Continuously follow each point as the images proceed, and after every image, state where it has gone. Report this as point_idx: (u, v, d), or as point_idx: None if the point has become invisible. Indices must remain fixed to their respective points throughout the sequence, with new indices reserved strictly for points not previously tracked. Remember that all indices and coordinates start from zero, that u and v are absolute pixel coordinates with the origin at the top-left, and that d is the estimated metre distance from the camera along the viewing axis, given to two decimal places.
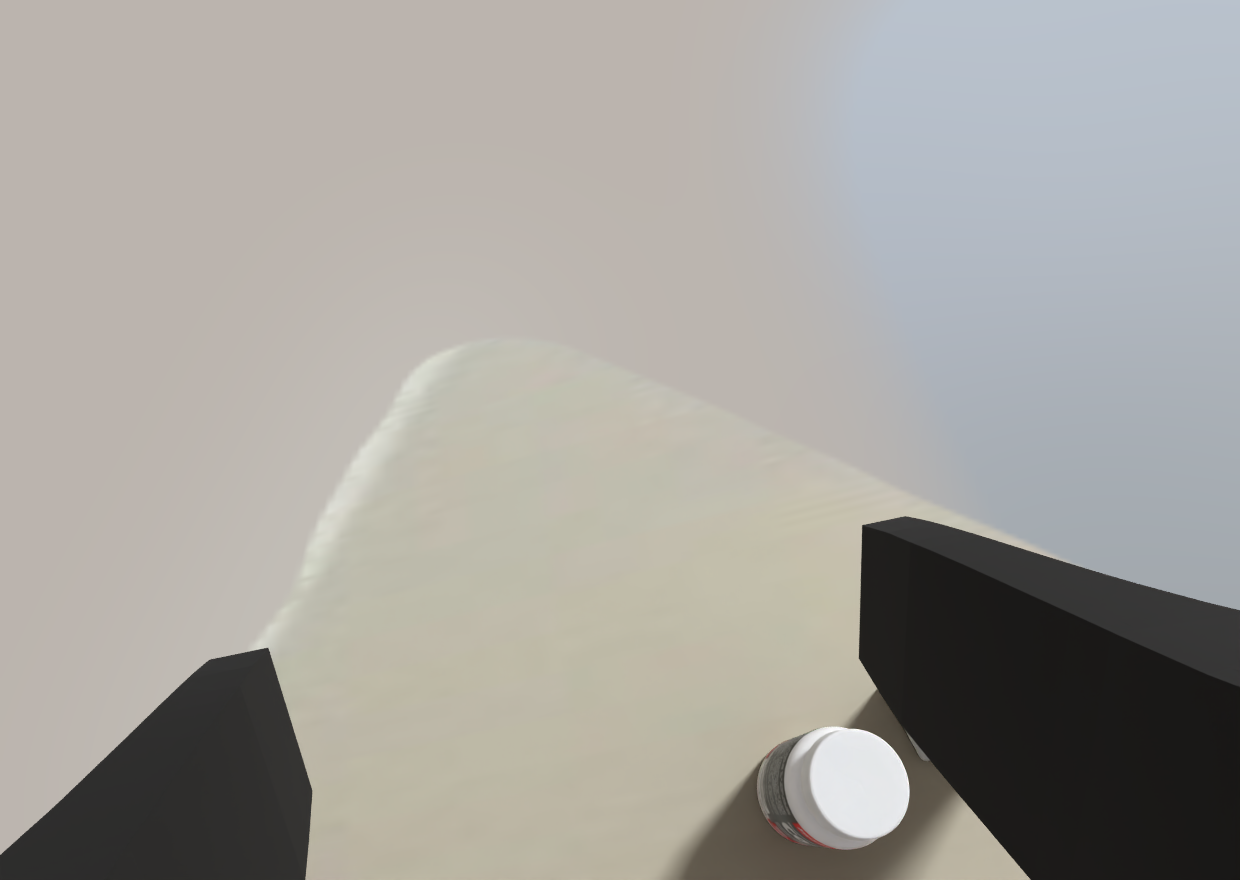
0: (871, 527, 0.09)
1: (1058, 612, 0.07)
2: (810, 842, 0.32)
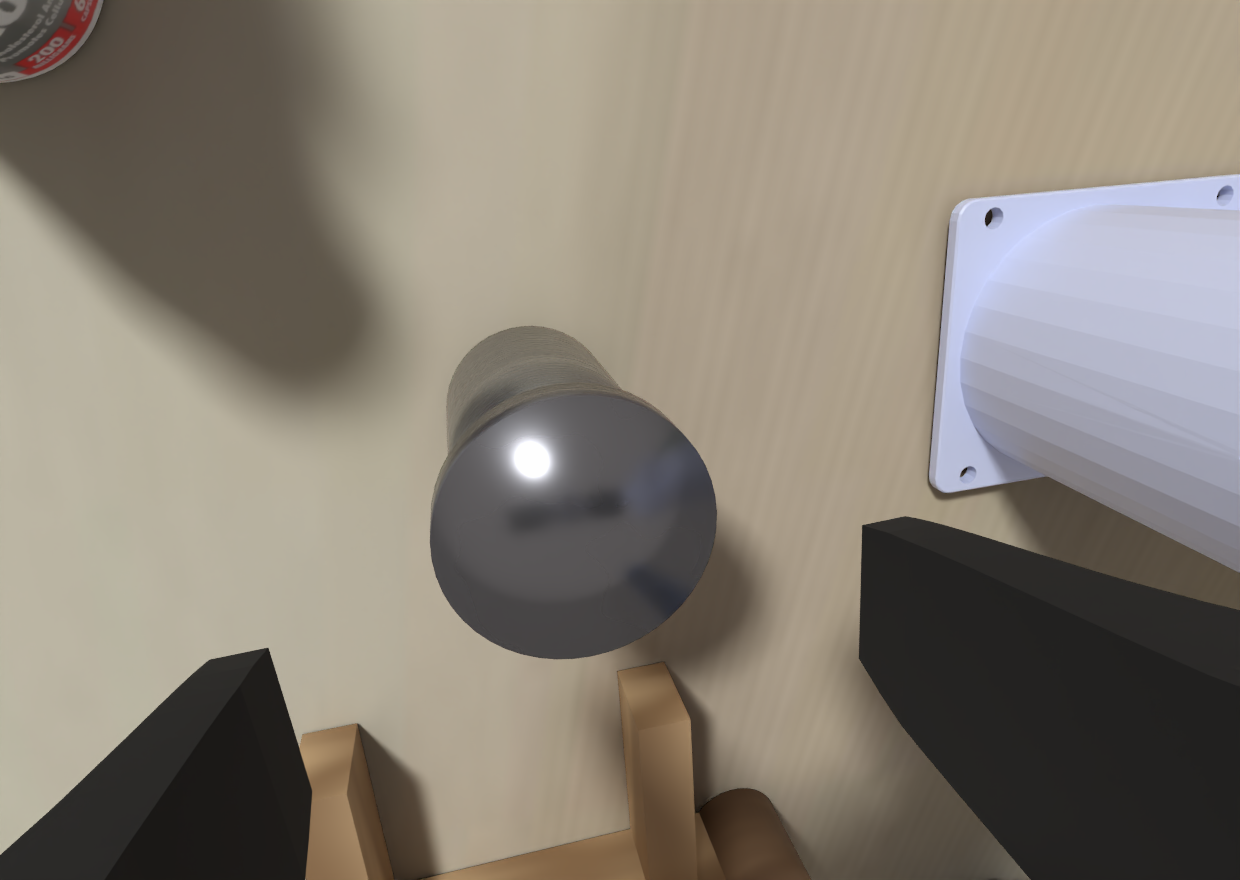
0: (871, 527, 0.09)
1: (1058, 612, 0.07)
2: None
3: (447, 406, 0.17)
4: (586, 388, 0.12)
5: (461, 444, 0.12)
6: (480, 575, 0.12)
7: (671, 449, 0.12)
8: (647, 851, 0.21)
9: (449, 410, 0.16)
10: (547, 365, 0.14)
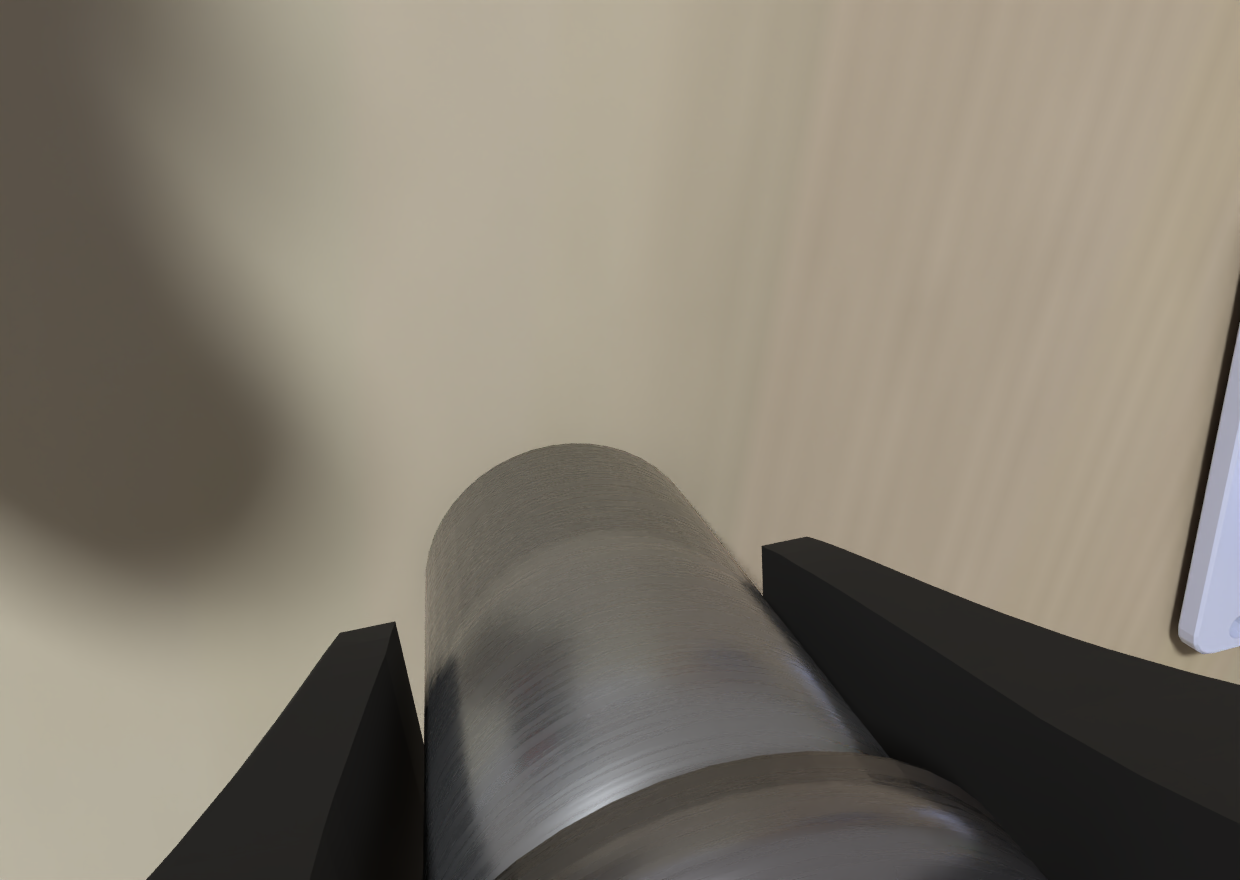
0: (769, 548, 0.09)
1: (921, 646, 0.06)
2: None
3: (426, 600, 0.10)
4: (802, 799, 0.04)
5: None
6: None
7: None
8: None
9: (428, 627, 0.09)
10: (632, 591, 0.07)
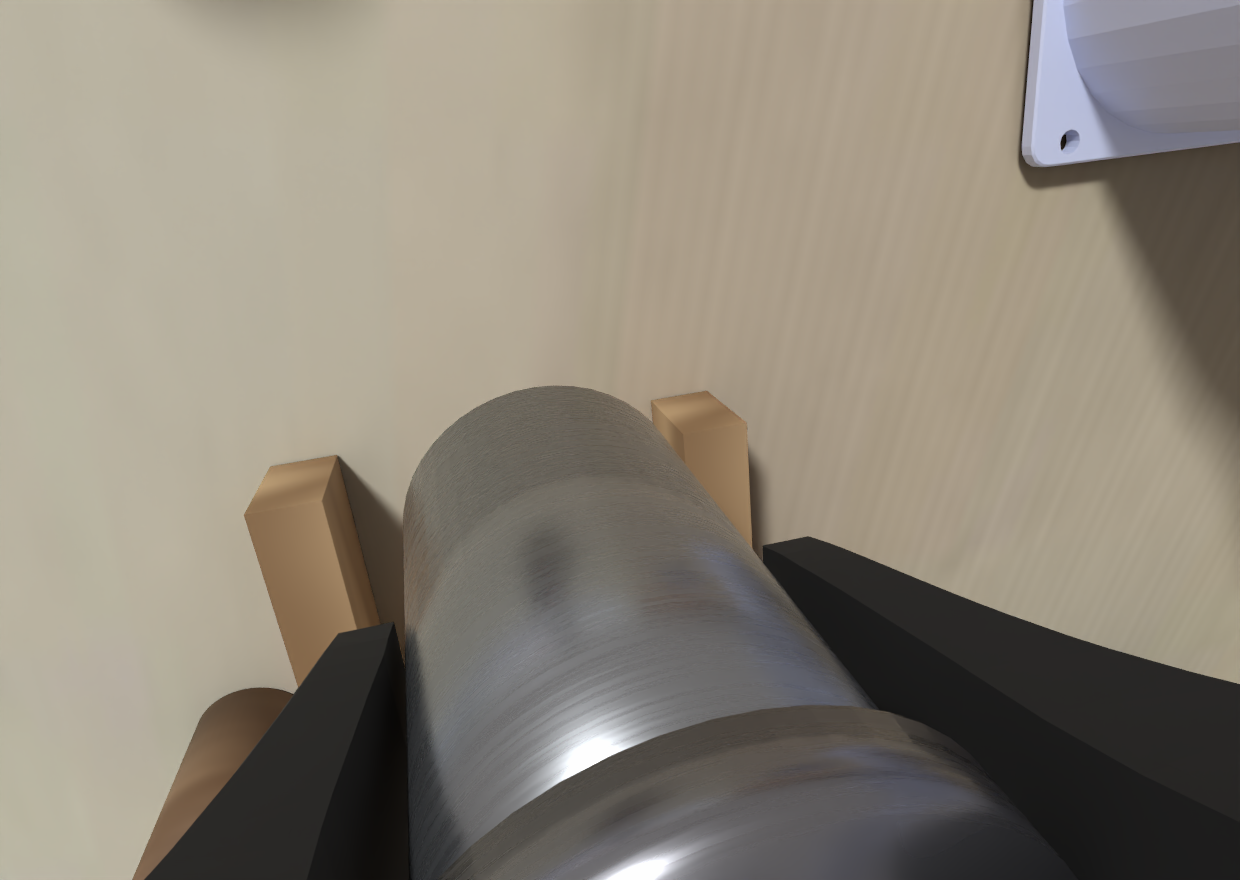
0: (769, 548, 0.09)
1: (922, 645, 0.06)
2: None
3: (404, 542, 0.09)
4: (804, 754, 0.04)
5: None
6: None
7: None
8: None
9: (407, 570, 0.08)
10: (622, 540, 0.06)
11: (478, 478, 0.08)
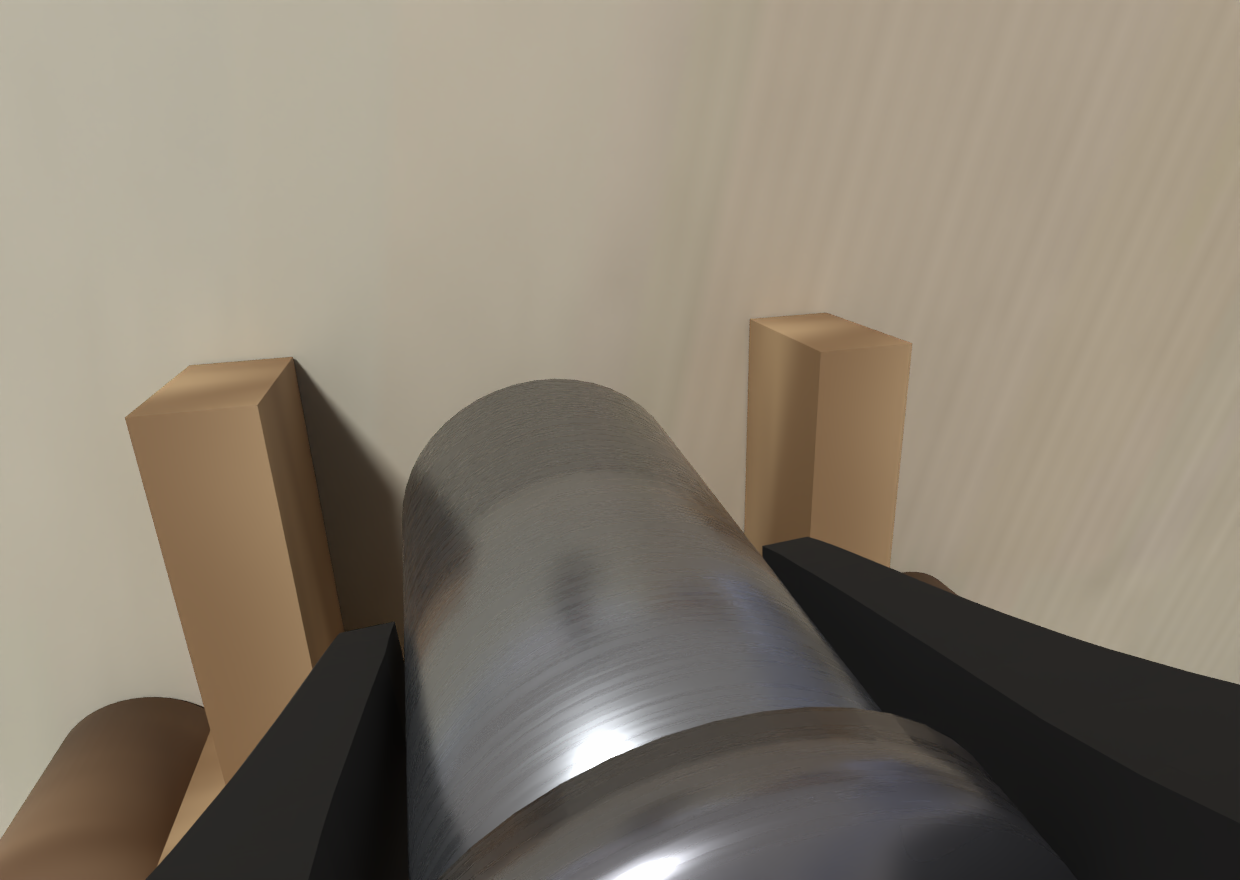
0: (768, 548, 0.09)
1: (921, 645, 0.06)
2: None
3: (403, 536, 0.09)
4: (806, 757, 0.04)
5: None
6: None
7: None
8: None
9: (407, 564, 0.08)
10: (623, 537, 0.06)
11: (478, 472, 0.08)
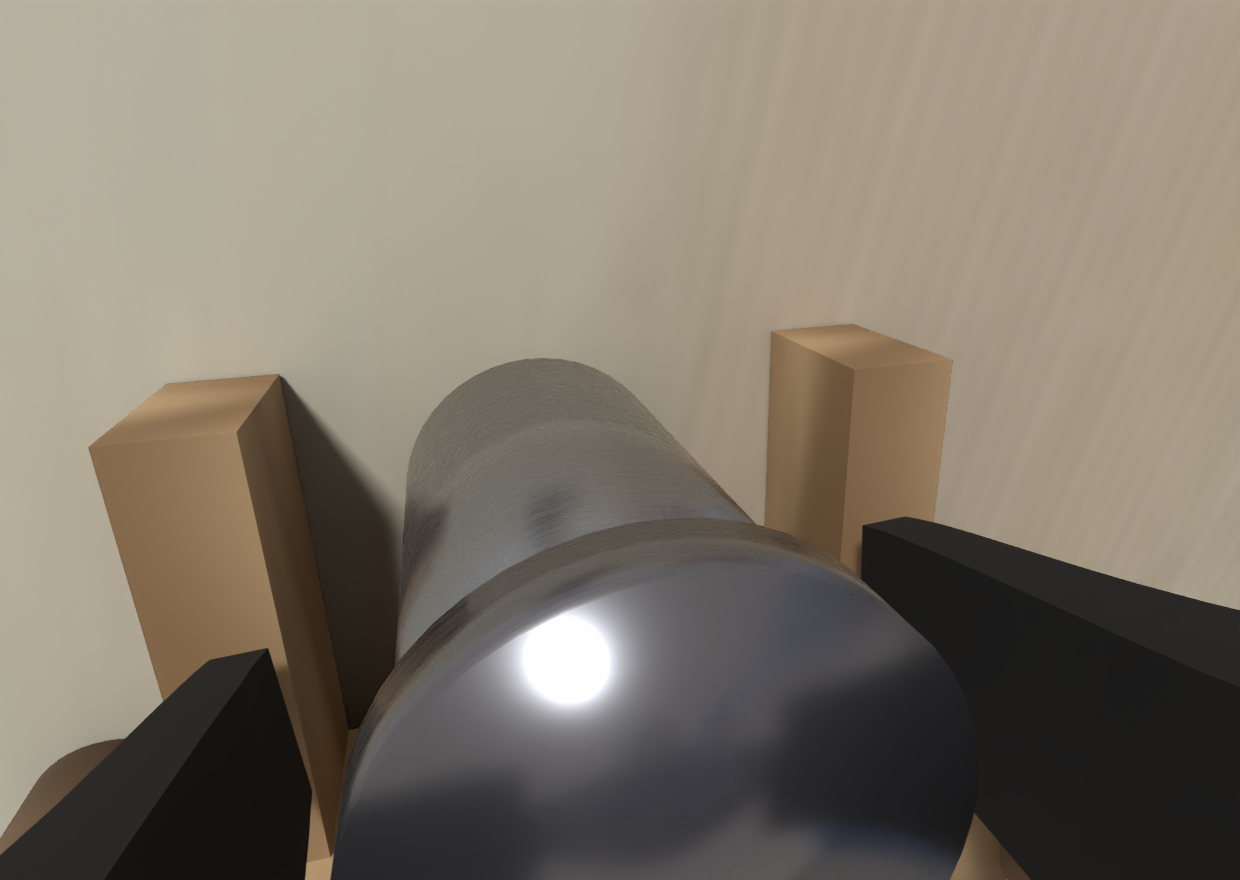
0: (870, 527, 0.09)
1: (1058, 612, 0.07)
2: None
3: (406, 494, 0.10)
4: (703, 540, 0.05)
5: (403, 687, 0.05)
6: None
7: (899, 675, 0.05)
8: None
9: (406, 509, 0.09)
10: (584, 447, 0.07)
11: (469, 422, 0.09)
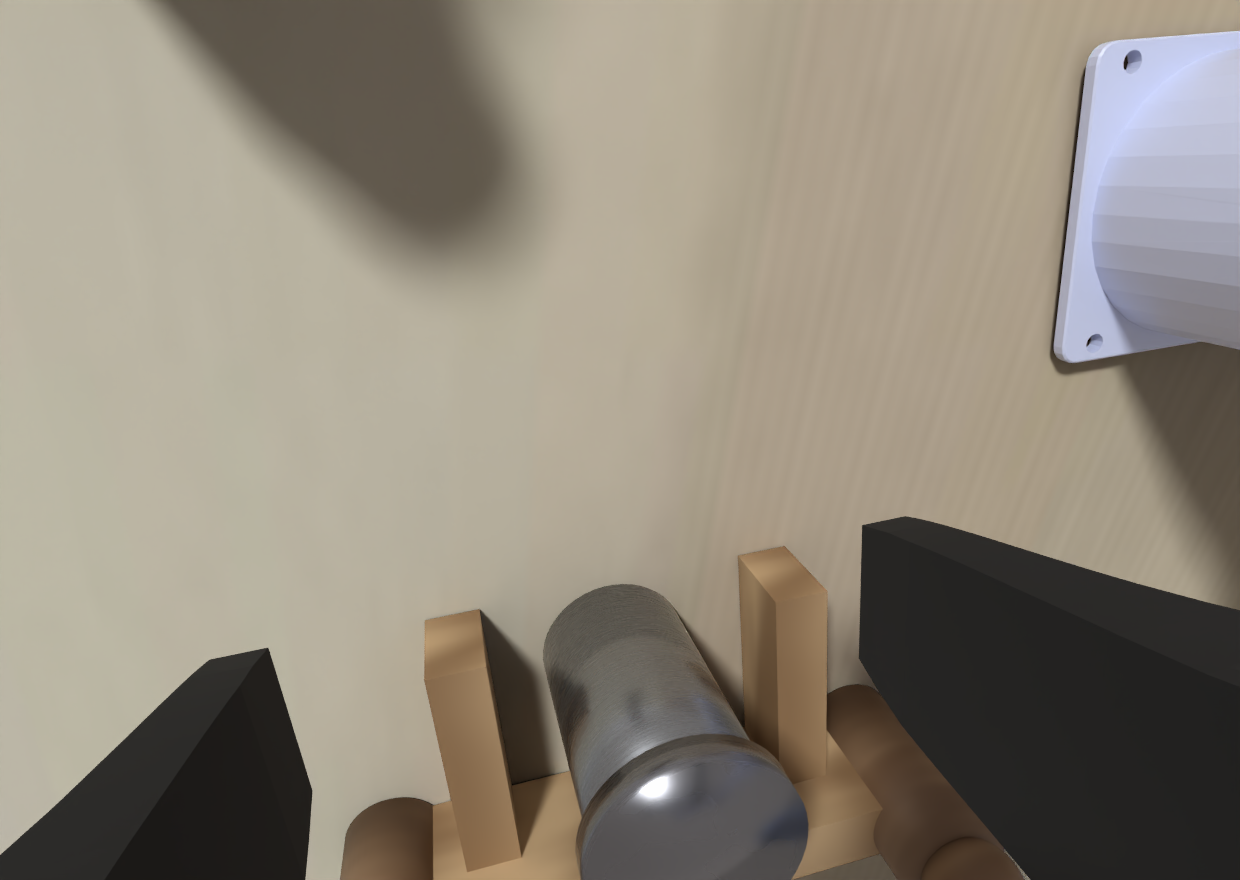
0: (870, 527, 0.09)
1: (1058, 612, 0.07)
2: None
3: (548, 668, 0.20)
4: (699, 748, 0.14)
5: (602, 804, 0.14)
6: None
7: (771, 788, 0.14)
8: (778, 735, 0.20)
9: (554, 684, 0.19)
10: (648, 674, 0.17)
11: (585, 642, 0.19)
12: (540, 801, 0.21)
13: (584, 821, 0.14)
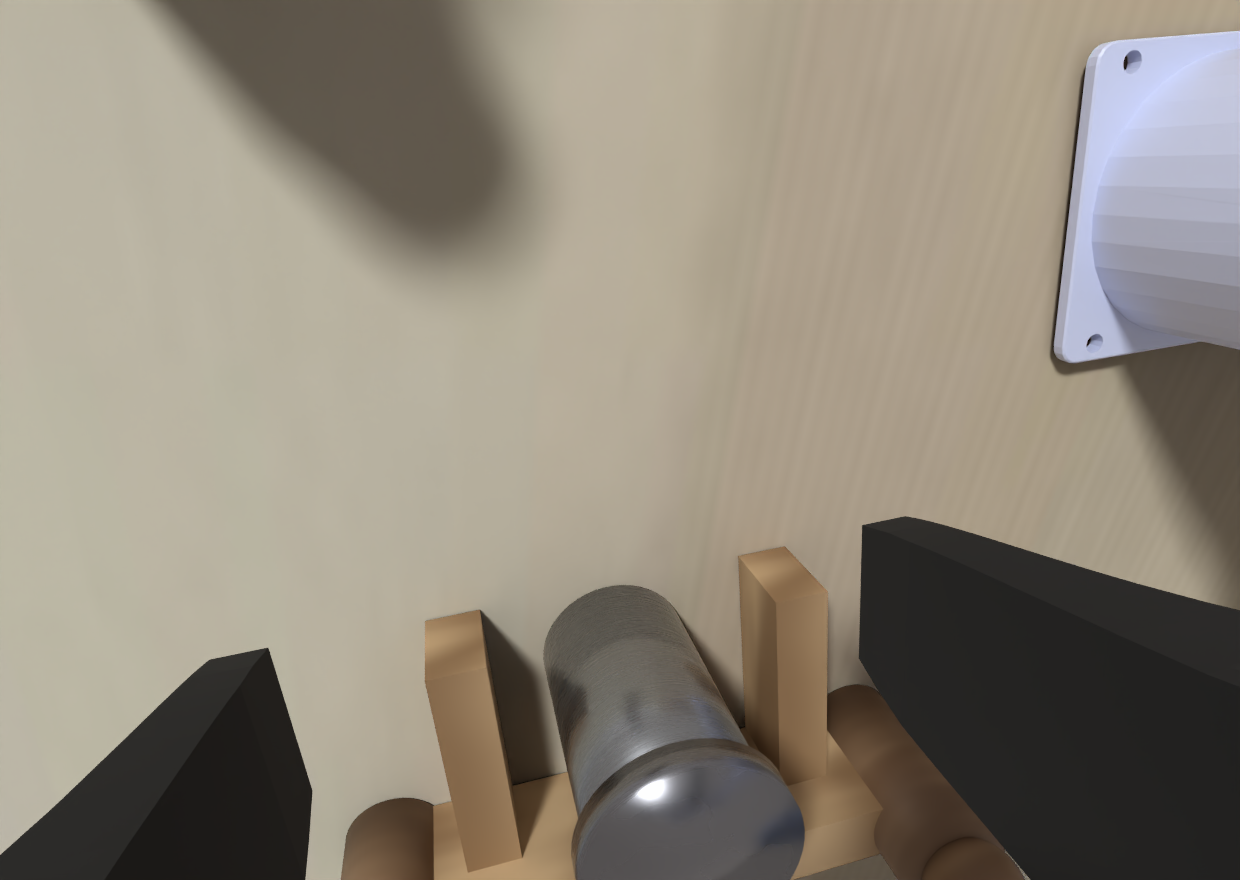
0: (870, 526, 0.09)
1: (1058, 612, 0.07)
2: None
3: (547, 668, 0.20)
4: (694, 752, 0.14)
5: (597, 808, 0.14)
6: None
7: (766, 793, 0.14)
8: (778, 736, 0.20)
9: (554, 685, 0.19)
10: (645, 677, 0.17)
11: (583, 643, 0.19)
12: (541, 801, 0.21)
13: (579, 824, 0.14)
